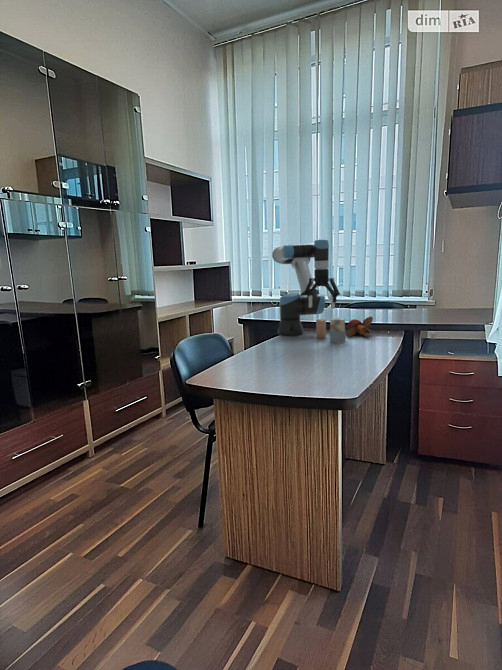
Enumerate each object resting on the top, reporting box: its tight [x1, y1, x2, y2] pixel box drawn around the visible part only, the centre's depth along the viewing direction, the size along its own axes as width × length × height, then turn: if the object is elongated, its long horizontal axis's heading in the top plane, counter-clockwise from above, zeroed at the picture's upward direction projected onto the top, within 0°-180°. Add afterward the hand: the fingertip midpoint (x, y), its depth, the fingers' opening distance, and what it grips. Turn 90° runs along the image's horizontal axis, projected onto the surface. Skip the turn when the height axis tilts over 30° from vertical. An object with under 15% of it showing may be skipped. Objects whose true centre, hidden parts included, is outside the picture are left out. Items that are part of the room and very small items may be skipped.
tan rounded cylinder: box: [315, 318, 327, 340], centre depth 223 cm, size 5×5×10 cm
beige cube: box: [329, 317, 346, 332], centre depth 212 cm, size 6×6×6 cm
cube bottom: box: [329, 329, 347, 344], centre depth 213 cm, size 6×6×6 cm
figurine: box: [345, 316, 373, 338], centre depth 227 cm, size 20×9×15 cm
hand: (321, 308), depth 221 cm, fingers open, 13 cm apart
